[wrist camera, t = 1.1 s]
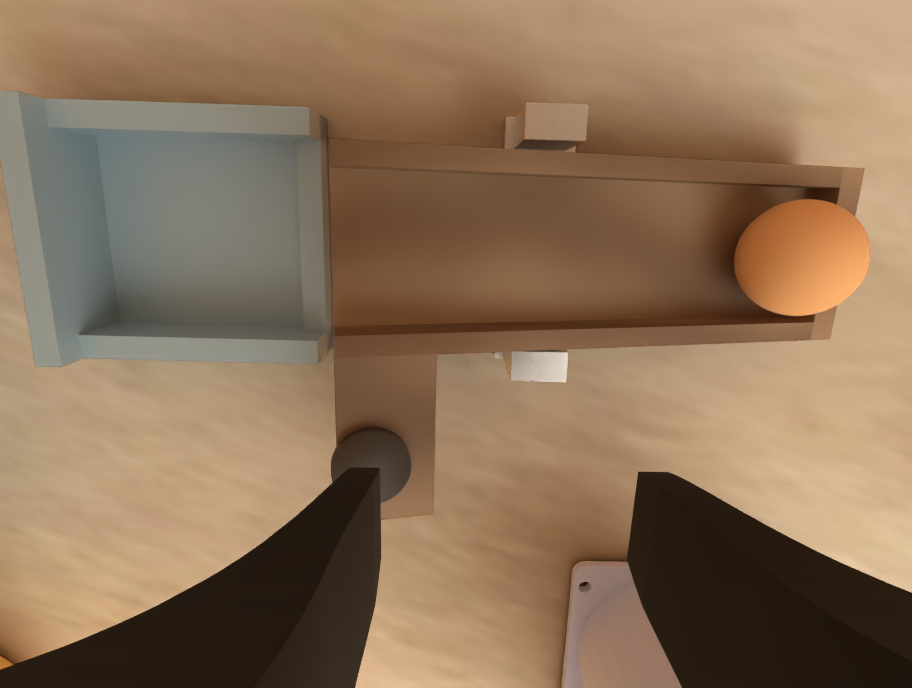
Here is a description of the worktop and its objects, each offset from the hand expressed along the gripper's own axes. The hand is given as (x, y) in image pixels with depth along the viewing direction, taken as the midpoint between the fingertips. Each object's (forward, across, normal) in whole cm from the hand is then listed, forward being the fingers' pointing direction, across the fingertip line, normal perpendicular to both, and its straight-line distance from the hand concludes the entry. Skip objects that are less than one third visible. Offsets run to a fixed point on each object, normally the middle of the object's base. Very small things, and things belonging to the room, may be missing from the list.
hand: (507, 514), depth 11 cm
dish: (+11, +10, -4) cm, 15 cm away
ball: (+7, -9, -4) cm, 13 cm away
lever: (+9, -3, -2) cm, 10 cm away
